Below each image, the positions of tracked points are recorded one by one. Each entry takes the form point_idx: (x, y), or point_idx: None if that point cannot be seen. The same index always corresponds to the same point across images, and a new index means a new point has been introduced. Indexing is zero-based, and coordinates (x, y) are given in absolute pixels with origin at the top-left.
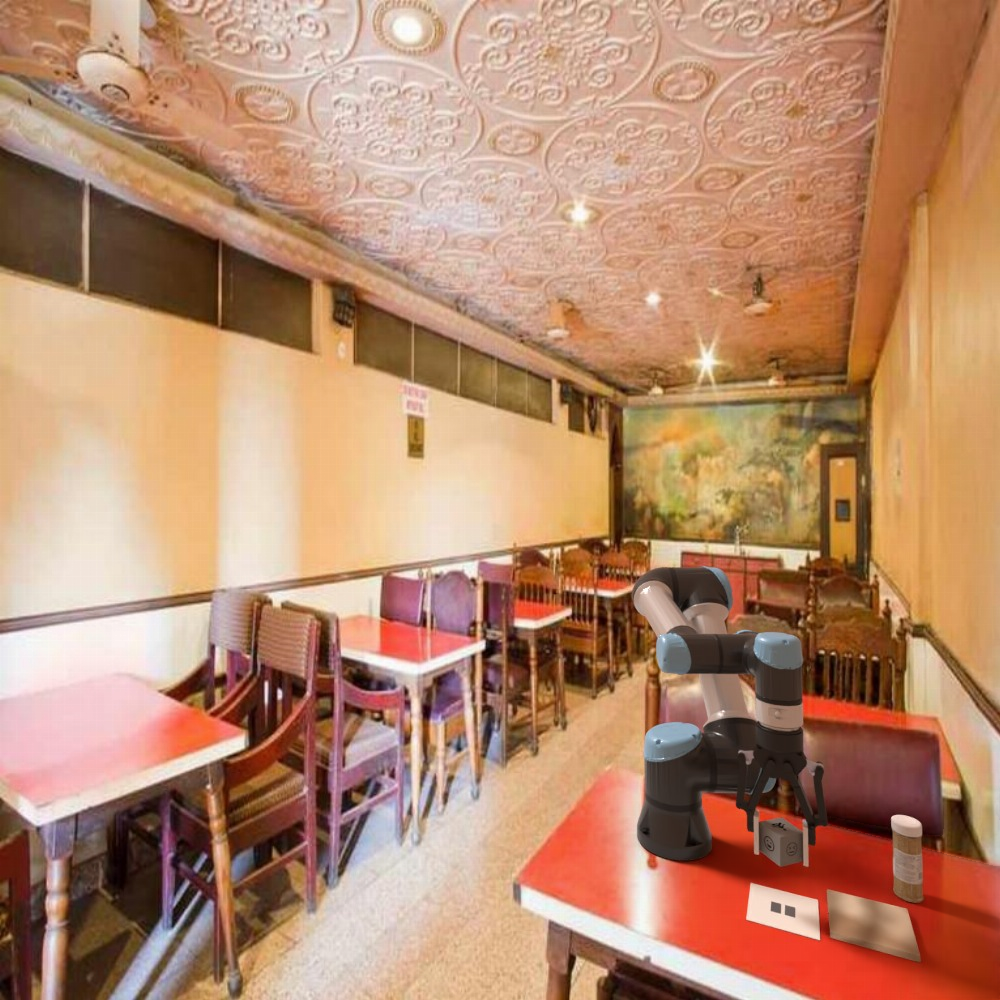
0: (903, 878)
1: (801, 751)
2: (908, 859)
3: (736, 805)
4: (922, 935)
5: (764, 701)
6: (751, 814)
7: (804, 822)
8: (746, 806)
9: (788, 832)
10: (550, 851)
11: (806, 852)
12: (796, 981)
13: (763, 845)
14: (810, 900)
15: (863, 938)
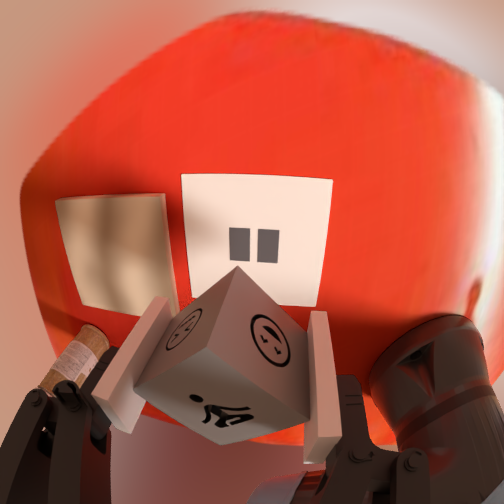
0: (81, 347)
1: None
2: (60, 364)
3: (424, 457)
4: (67, 261)
5: None
6: (352, 442)
7: (118, 421)
8: (374, 470)
9: (178, 385)
10: None
11: (141, 325)
12: (227, 33)
13: (294, 340)
14: (204, 291)
15: (111, 203)
